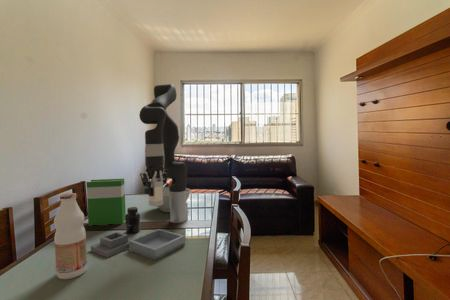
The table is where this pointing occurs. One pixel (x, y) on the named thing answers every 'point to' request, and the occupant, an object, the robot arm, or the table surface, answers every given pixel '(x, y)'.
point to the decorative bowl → (166, 200)
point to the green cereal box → (106, 201)
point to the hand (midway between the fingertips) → (155, 194)
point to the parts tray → (156, 243)
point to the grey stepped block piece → (111, 244)
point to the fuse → (157, 194)
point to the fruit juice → (70, 239)
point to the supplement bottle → (132, 220)
